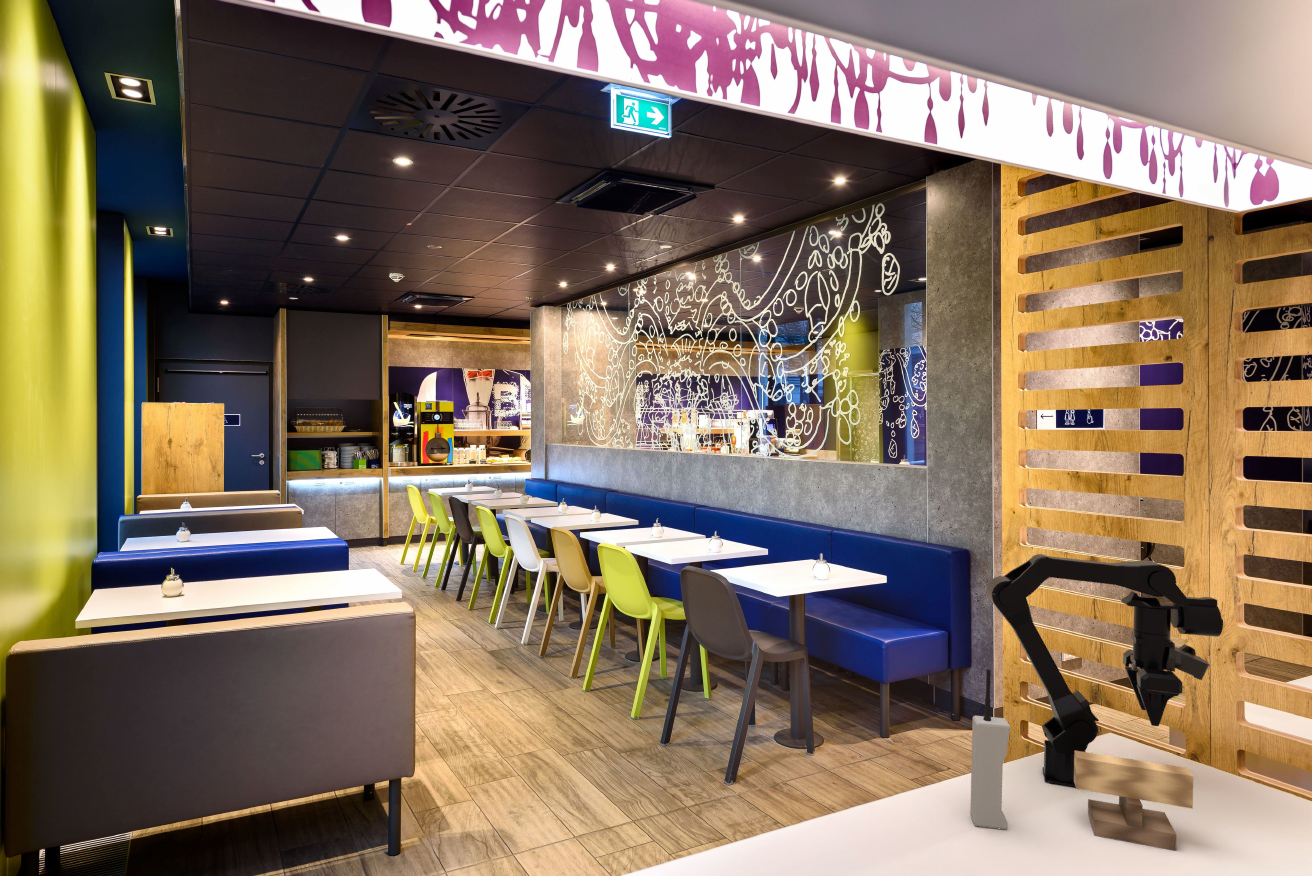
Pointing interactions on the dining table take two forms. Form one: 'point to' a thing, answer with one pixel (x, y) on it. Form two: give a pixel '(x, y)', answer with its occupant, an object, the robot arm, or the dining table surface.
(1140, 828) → the ridge stand
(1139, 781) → the light wooden block
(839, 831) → the dining table surface
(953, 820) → the dining table surface
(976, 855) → the dining table surface
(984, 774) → the vintage mobile phone
